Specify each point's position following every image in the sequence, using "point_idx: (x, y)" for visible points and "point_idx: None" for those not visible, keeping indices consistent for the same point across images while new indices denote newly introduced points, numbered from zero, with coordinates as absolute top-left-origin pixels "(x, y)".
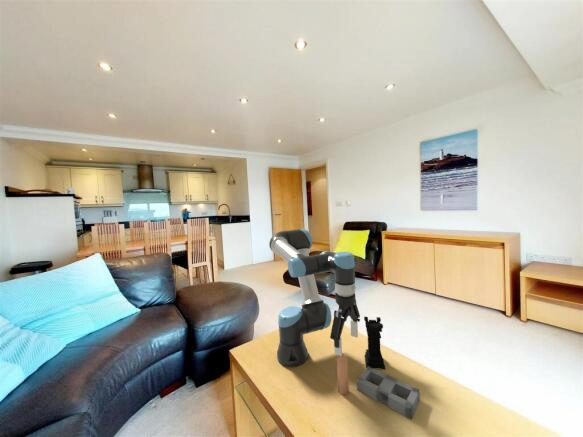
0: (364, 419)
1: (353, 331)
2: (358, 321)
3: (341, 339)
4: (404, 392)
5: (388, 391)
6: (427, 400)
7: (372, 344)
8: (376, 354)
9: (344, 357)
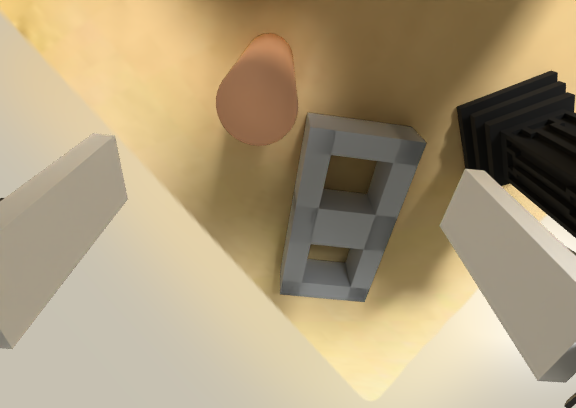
0: (198, 172)
1: (480, 231)
2: (568, 404)
3: (20, 335)
4: (352, 258)
5: (311, 239)
6: None
7: (555, 177)
8: (513, 170)
9: (270, 123)
